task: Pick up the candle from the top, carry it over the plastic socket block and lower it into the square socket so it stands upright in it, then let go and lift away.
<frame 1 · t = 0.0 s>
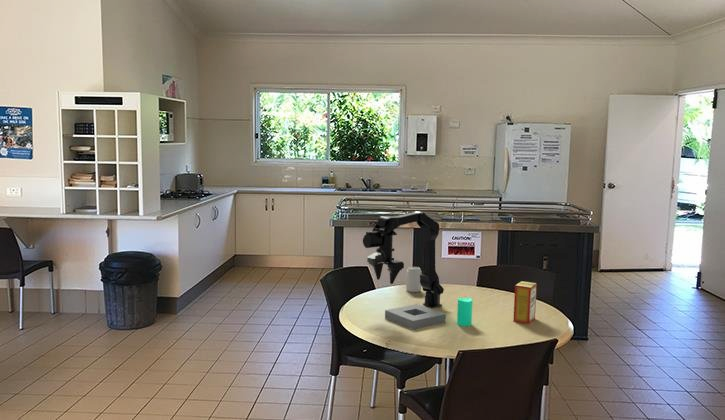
hand: (384, 281, 252), 15 cm above the table, tool pointing down, fingers open, 9 cm apart
candle: (464, 324, 243), on the table
can: (413, 291, 296), on the table
baking soda box: (524, 320, 250), on the table
socket block: (414, 320, 247), on the table
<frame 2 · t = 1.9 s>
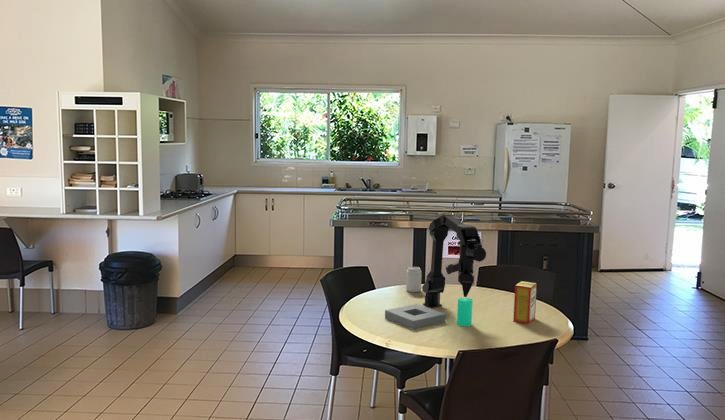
hand: (465, 294, 242), 13 cm above the table, tool pointing down, fingers open, 9 cm apart
nothing on the table moved.
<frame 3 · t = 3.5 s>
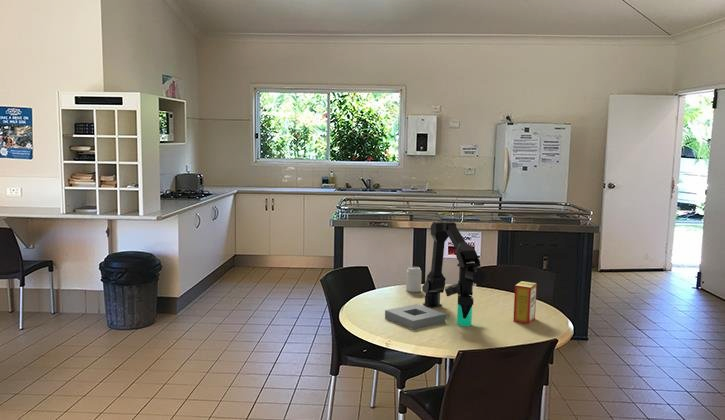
hand: (464, 315, 243), 3 cm above the table, tool pointing down, fingers closed on candle, 7 cm apart
candle: (464, 324, 243), on the table, touching gripper
everything else where it was.
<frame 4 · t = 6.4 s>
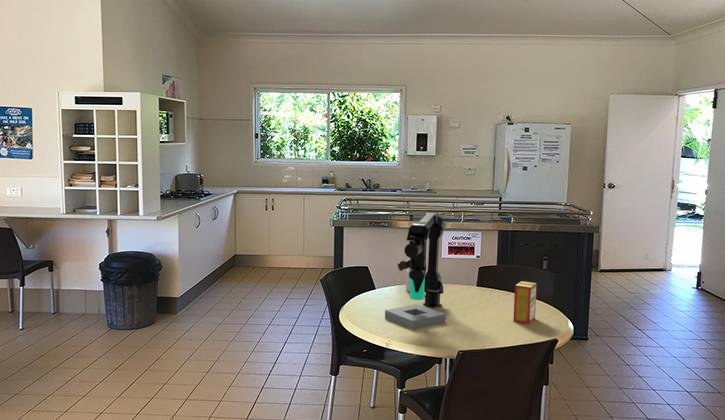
hand: (417, 290, 246), 13 cm above the table, tool pointing down, fingers closed on candle, 7 cm apart
candle: (416, 298, 246), point 9 cm above the table, touching gripper
everything else where it was.
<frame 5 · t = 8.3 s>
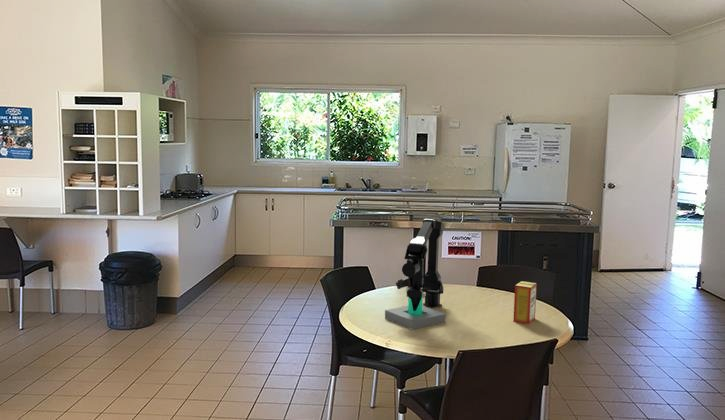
hand: (415, 308, 247), 5 cm above the table, tool pointing down, fingers closed on candle, 7 cm apart
candle: (414, 316, 247), point 1 cm above the table, touching gripper
everything else where it was.
when the fingers open (5 cm above the table, at t = 9.4 s): candle drops 1 cm, resting in socket block.
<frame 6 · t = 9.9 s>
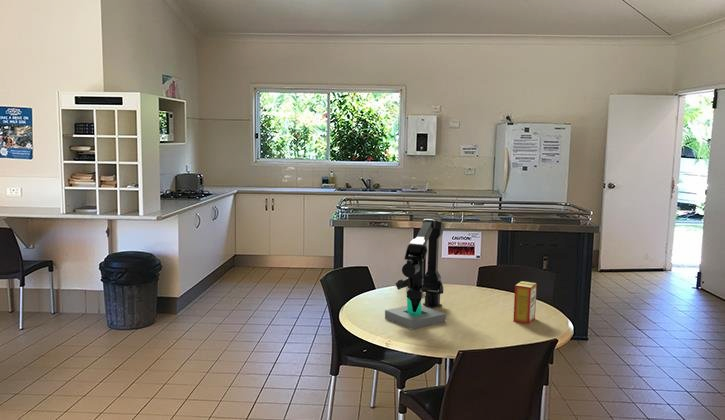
hand: (415, 308, 247), 5 cm above the table, tool pointing down, fingers open, 9 cm apart
candle: (414, 319, 248), resting in socket block
everything else where it was.
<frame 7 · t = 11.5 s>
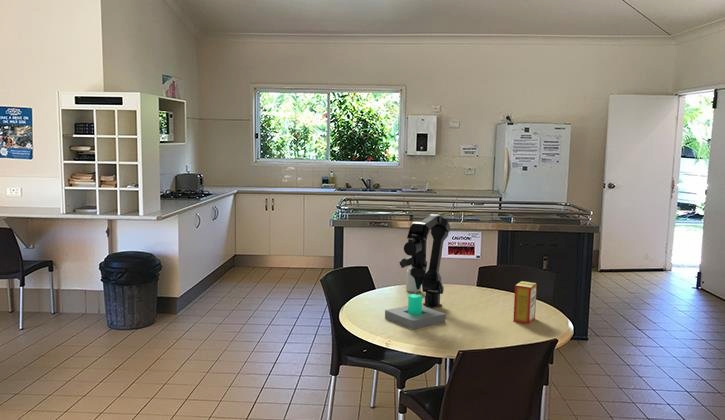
hand: (418, 286, 254), 13 cm above the table, tool pointing down, fingers open, 9 cm apart
nothing on the table moved.
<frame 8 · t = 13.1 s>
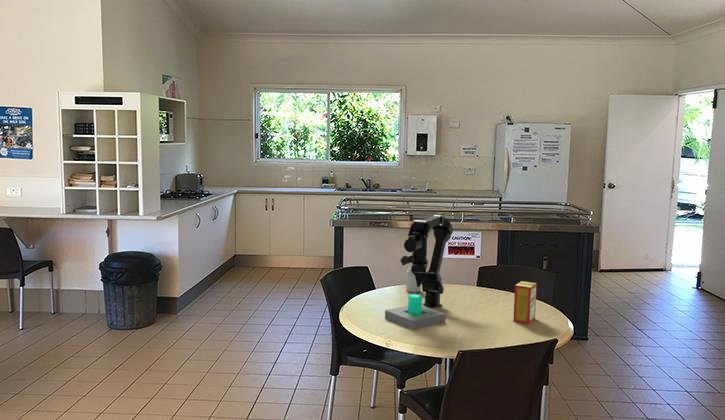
hand: (419, 284, 256), 13 cm above the table, tool pointing down, fingers open, 9 cm apart
nothing on the table moved.
at the end: candle 0.5 cm off-centre on the socket block, point 0.0 cm above the socket block's base; candle tilted 0°; the gripper is holding nothing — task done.
